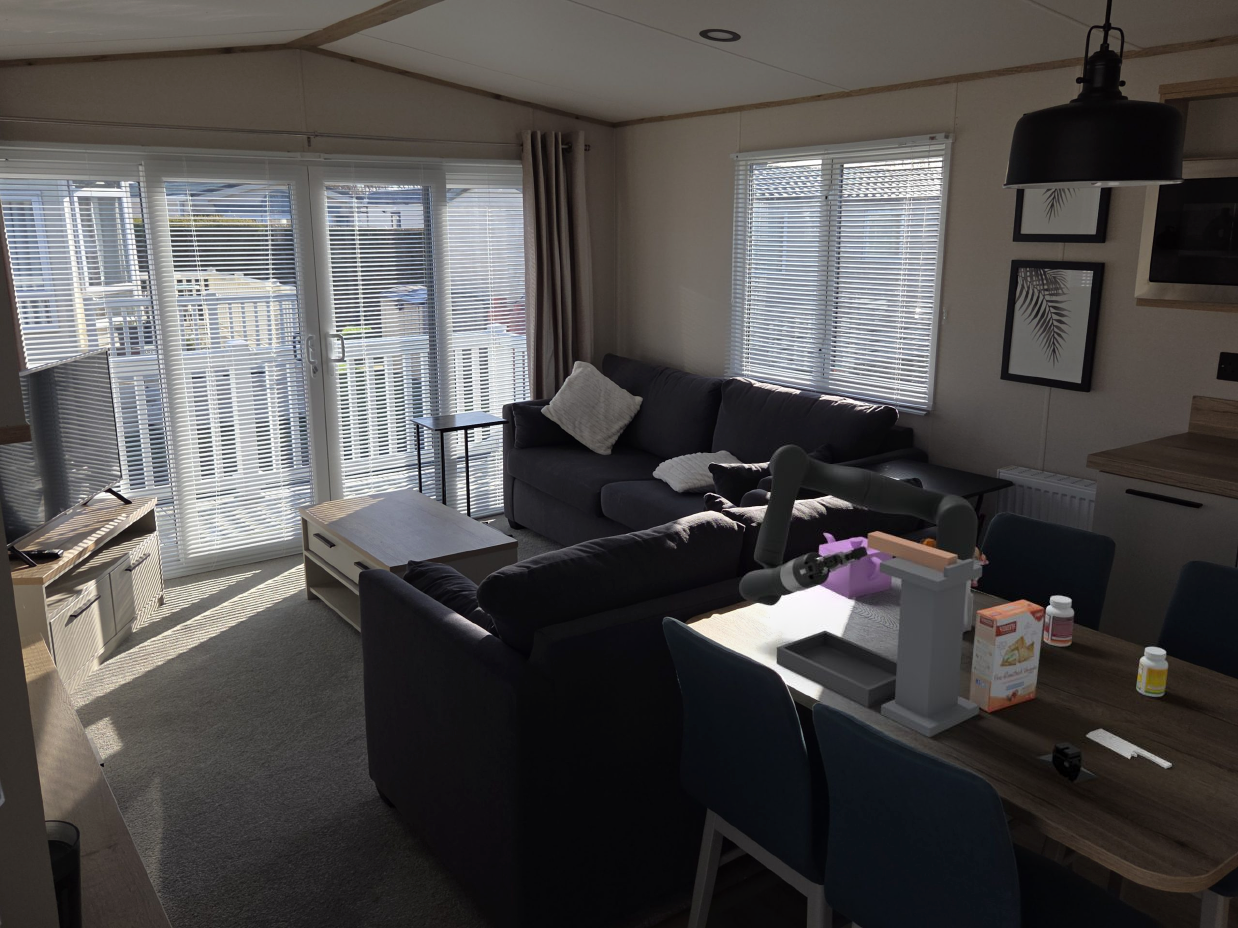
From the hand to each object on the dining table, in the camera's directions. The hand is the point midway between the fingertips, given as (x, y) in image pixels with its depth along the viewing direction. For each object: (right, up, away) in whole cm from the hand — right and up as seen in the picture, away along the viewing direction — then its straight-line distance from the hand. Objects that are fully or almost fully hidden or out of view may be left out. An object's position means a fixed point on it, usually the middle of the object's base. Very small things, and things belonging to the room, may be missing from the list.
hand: (852, 554), depth 214 cm
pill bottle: (+55, -23, +23) cm, 64 cm away
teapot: (+15, -15, +62) cm, 65 cm away
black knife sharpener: (+32, -37, -31) cm, 58 cm away
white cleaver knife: (+46, -36, -26) cm, 64 cm away
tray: (0, -28, +7) cm, 29 cm away
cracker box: (+30, -31, -6) cm, 44 cm away
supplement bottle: (+63, -29, -3) cm, 70 cm away
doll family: (+41, -14, +62) cm, 76 cm away
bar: (+9, 0, -13) cm, 16 cm away
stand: (+13, -32, -10) cm, 35 cm away
